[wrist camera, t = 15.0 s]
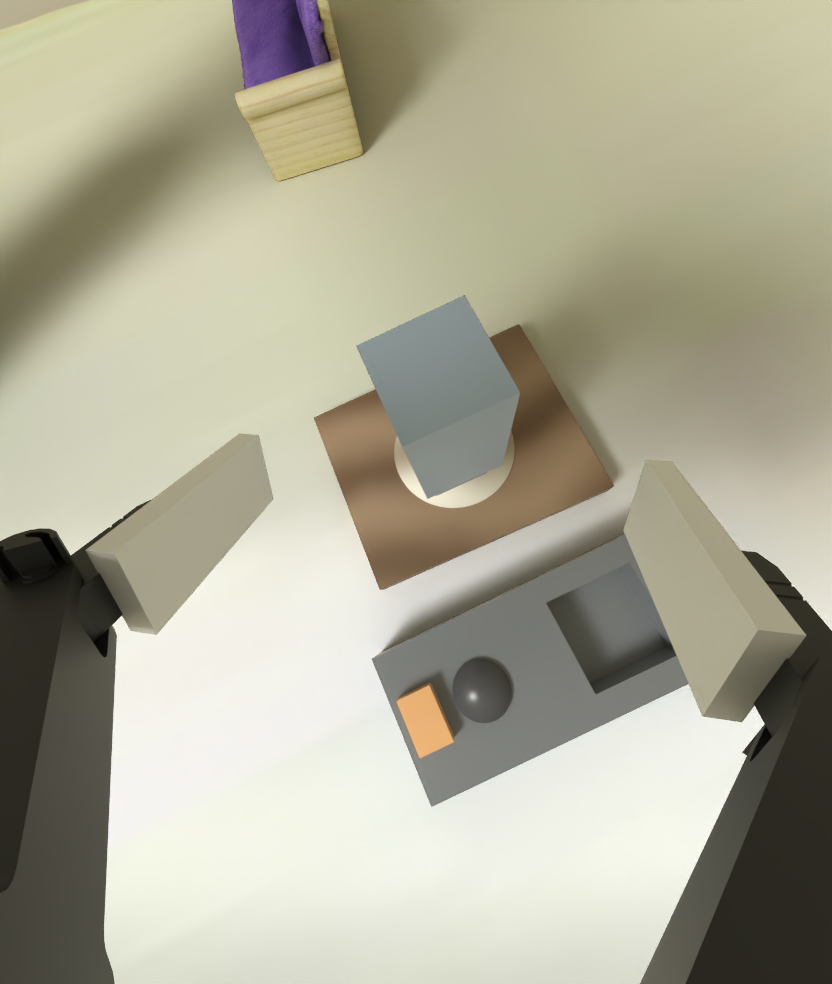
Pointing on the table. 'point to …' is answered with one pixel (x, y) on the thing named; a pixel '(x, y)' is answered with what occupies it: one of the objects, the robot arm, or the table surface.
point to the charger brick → (444, 394)
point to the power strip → (529, 670)
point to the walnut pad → (475, 504)
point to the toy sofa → (294, 85)
